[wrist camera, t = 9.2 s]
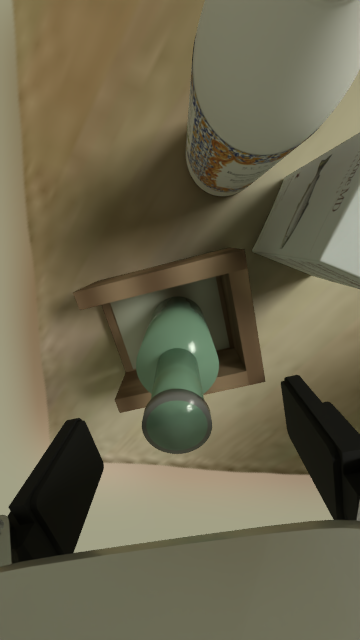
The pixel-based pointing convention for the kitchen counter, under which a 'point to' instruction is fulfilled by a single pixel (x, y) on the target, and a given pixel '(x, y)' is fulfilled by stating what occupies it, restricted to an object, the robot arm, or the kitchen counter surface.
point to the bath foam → (264, 83)
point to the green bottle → (177, 376)
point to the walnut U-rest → (201, 287)
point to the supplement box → (319, 217)
